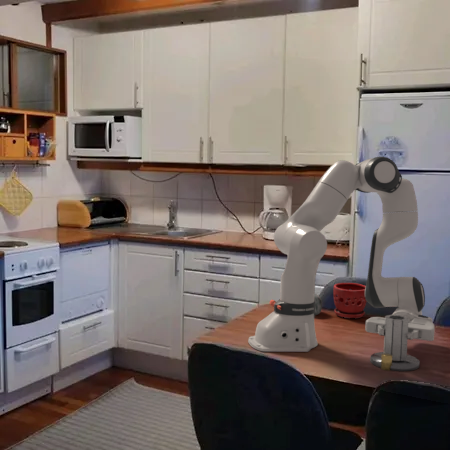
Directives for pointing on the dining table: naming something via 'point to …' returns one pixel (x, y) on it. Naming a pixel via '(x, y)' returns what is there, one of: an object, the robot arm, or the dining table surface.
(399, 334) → the octagonal pipe segment
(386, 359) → the grey pot lid
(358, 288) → the plant pot
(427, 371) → the dining table surface
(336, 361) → the dining table surface
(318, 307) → the spool
